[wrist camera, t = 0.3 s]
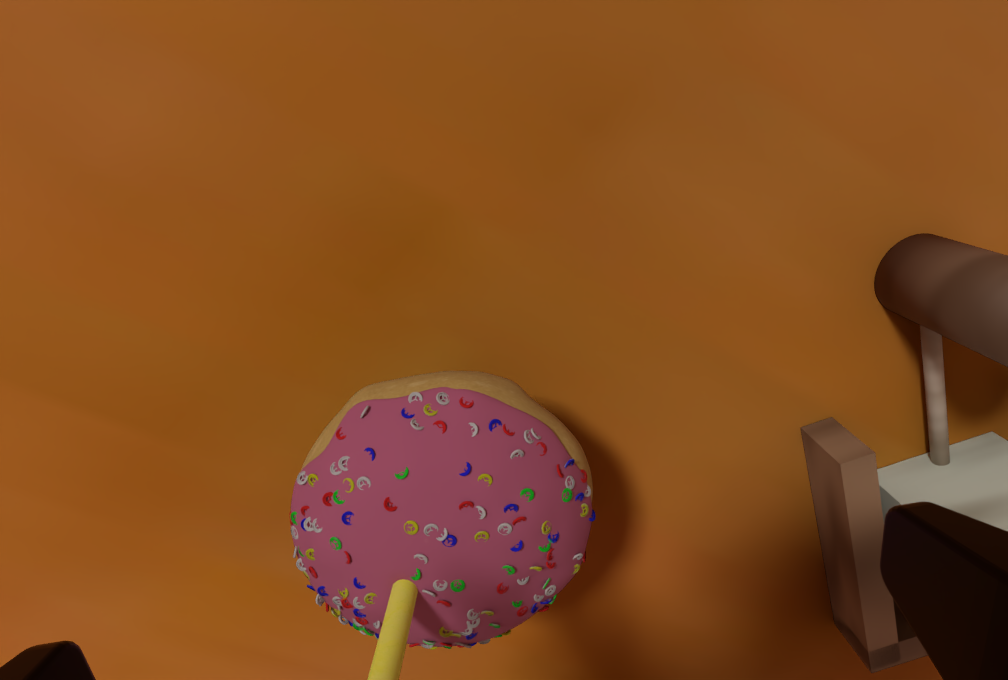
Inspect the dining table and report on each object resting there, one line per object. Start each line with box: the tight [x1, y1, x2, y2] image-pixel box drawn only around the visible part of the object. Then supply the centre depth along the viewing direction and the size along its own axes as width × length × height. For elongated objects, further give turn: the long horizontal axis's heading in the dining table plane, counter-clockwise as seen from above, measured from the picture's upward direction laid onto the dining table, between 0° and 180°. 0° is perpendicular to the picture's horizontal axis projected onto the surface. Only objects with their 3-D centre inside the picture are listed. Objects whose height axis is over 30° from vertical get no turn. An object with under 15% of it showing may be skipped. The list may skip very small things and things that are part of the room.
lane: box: [801, 417, 928, 673], centre depth 24 cm, size 10×9×2 cm
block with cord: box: [874, 234, 1008, 531], centre depth 21 cm, size 14×5×6 cm, turn 18°
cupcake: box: [290, 371, 595, 680], centre depth 17 cm, size 9×8×12 cm
